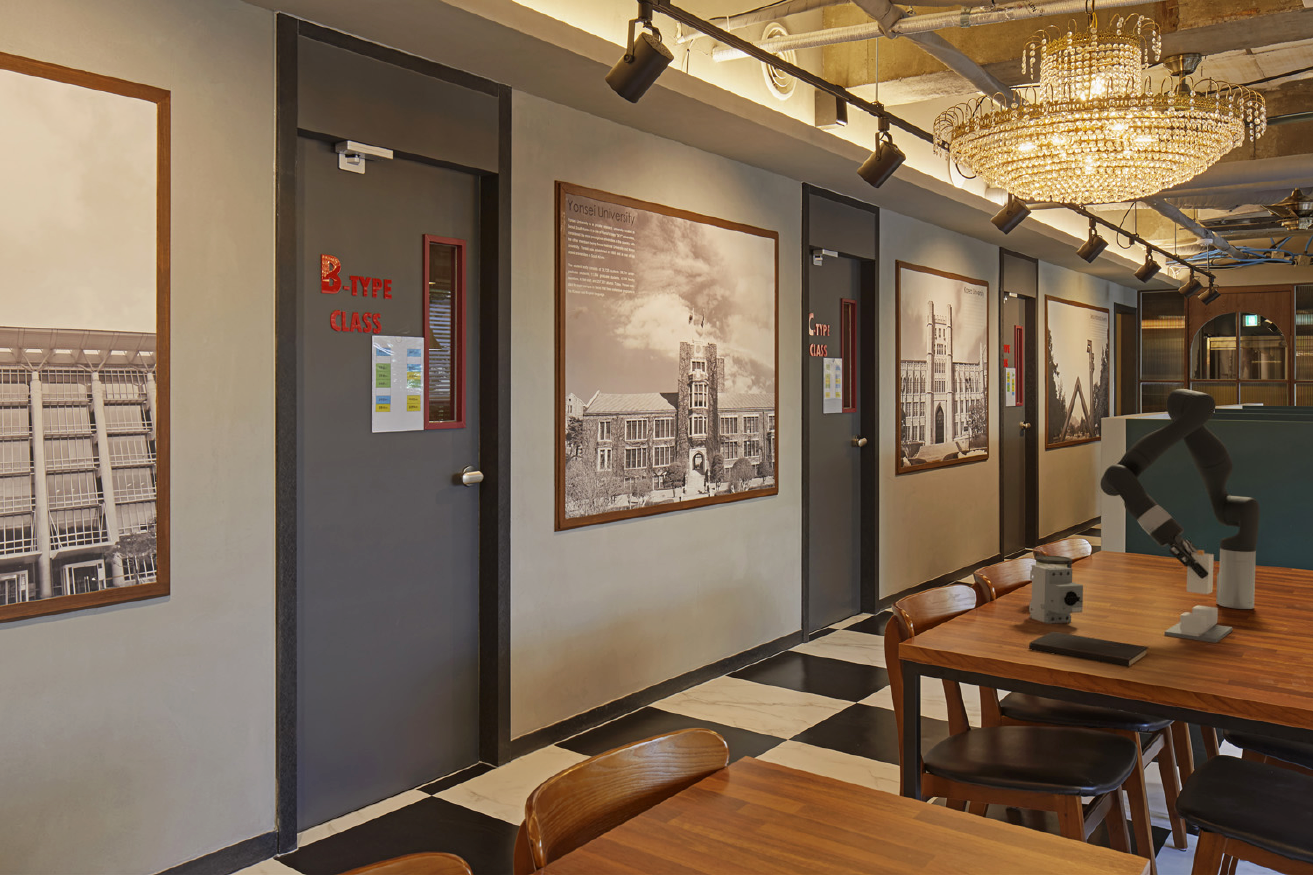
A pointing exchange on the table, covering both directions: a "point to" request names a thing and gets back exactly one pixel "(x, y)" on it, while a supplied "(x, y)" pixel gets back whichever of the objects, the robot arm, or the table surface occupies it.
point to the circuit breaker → (1054, 594)
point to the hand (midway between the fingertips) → (1208, 574)
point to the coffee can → (1054, 561)
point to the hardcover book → (1089, 648)
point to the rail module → (1194, 580)
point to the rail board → (1205, 637)
